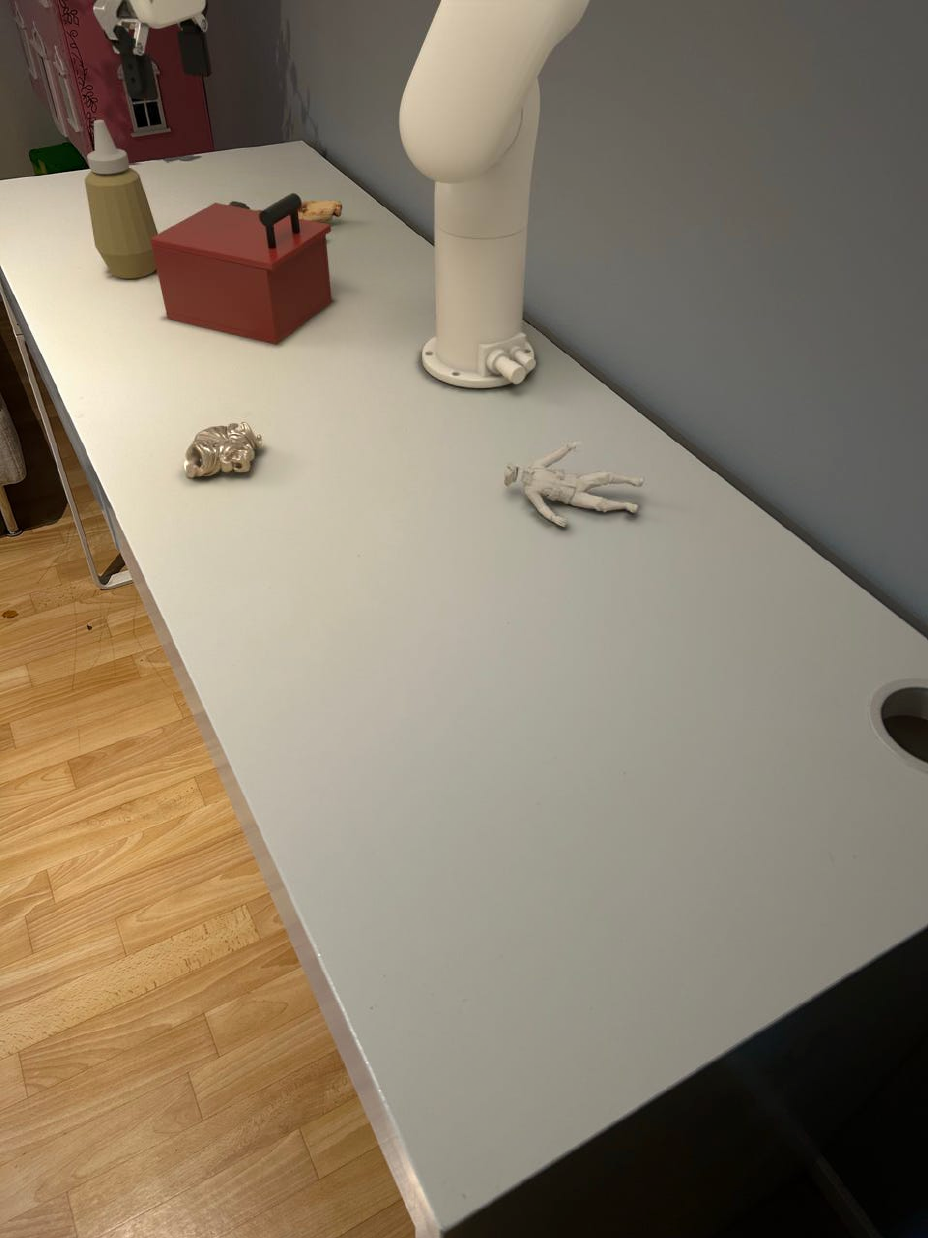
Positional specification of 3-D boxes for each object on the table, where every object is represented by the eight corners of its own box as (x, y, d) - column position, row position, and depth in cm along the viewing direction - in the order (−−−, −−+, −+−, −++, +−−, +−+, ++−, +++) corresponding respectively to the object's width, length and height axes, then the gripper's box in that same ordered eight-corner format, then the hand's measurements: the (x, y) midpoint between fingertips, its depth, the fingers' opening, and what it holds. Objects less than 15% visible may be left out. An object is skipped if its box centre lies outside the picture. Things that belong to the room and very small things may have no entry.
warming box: (332, 301, 117) (325, 230, 111) (276, 344, 108) (266, 270, 102) (228, 278, 121) (216, 209, 115) (167, 318, 113) (151, 245, 107)
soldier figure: (631, 543, 84) (506, 509, 81) (611, 546, 88) (491, 514, 86) (650, 459, 84) (526, 422, 81) (628, 467, 89) (510, 432, 86)
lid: (331, 231, 110) (327, 186, 107) (272, 270, 102) (266, 224, 99) (216, 208, 115) (209, 165, 112) (151, 245, 107) (141, 199, 103)
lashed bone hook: (231, 260, 127) (357, 238, 132) (225, 225, 123) (354, 204, 128) (215, 233, 132) (336, 212, 137) (209, 199, 129) (333, 179, 134)
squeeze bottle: (174, 259, 126) (143, 112, 113) (153, 285, 120) (119, 132, 107) (115, 256, 126) (79, 109, 114) (92, 281, 120) (51, 129, 108)
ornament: (214, 498, 86) (207, 465, 84) (172, 468, 90) (164, 435, 87) (283, 463, 91) (278, 431, 88) (241, 436, 94) (235, 404, 91)
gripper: (106, -113, 78) (153, 112, 90) (218, -132, 90) (247, 69, 101) (33, -117, 80) (89, 104, 92) (152, -135, 92) (188, 63, 103)
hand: (171, 86), depth 97 cm, fingers open, 9 cm apart
